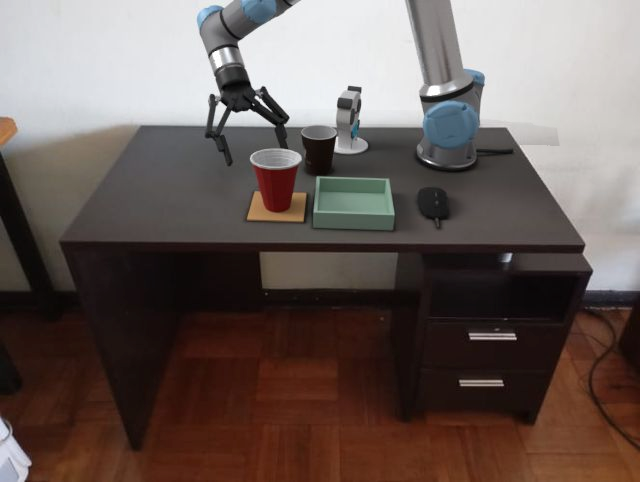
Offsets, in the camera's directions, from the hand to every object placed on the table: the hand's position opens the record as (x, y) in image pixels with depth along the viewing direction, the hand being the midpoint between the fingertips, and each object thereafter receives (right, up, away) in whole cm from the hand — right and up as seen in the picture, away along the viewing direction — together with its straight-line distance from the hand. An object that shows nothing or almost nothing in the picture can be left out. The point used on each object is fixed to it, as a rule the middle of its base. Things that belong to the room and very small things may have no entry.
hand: (258, 158), depth 115 cm
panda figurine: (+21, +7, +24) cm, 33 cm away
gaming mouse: (+39, -12, -3) cm, 41 cm away
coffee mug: (+14, 0, +13) cm, 19 cm away
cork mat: (+5, -11, -3) cm, 13 cm away
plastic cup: (+5, -11, -3) cm, 12 cm away
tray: (+21, -12, -3) cm, 25 cm away
